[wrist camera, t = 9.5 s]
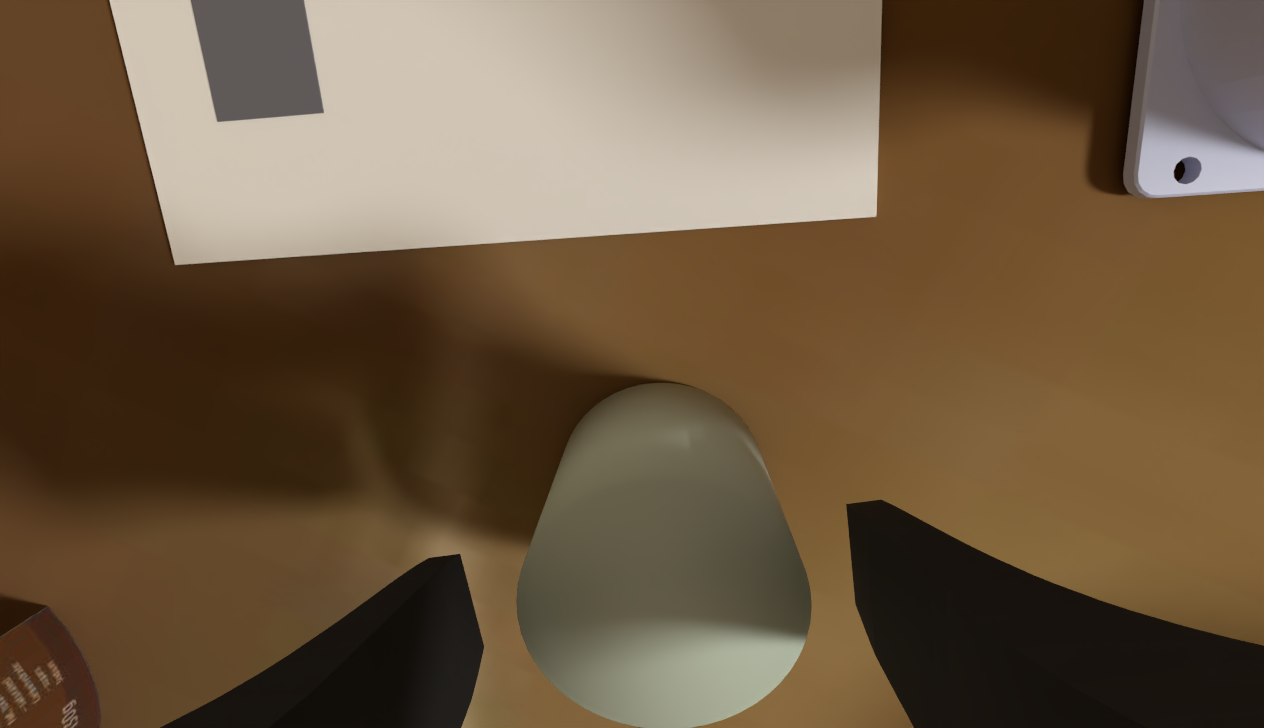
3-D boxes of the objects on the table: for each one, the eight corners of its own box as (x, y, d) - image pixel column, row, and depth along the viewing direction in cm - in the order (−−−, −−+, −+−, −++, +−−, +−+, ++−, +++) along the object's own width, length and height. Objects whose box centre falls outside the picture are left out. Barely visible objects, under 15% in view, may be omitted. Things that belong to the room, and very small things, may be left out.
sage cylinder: (773, 389, 14) (831, 488, 10) (751, 572, 16) (791, 739, 11) (563, 376, 15) (516, 467, 10) (559, 559, 16) (516, 718, 11)
